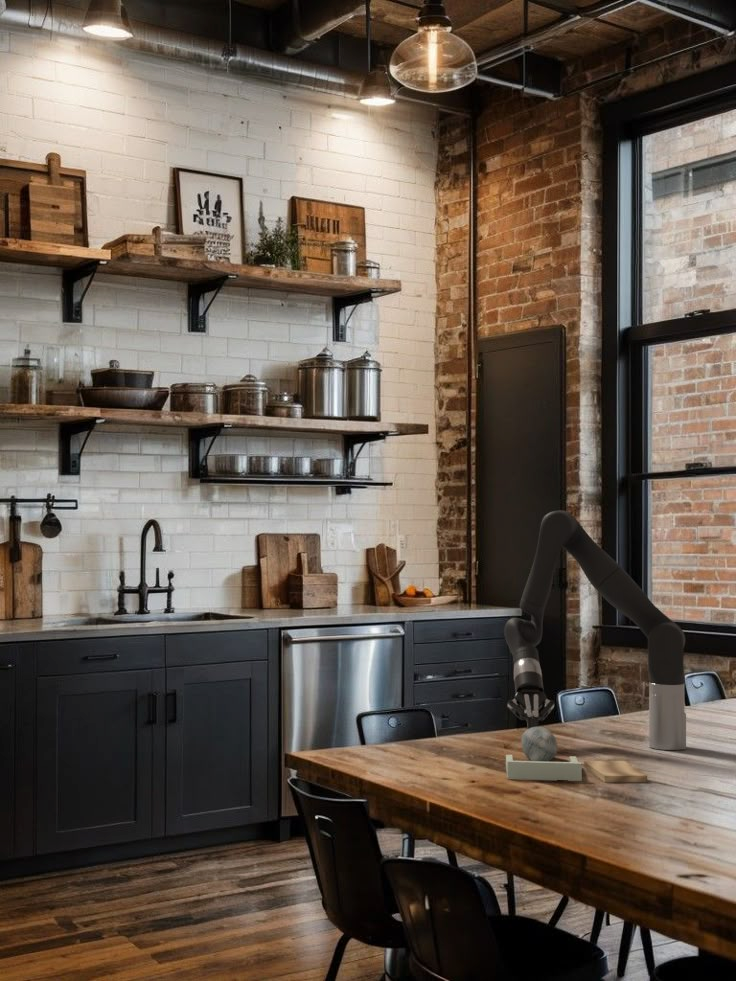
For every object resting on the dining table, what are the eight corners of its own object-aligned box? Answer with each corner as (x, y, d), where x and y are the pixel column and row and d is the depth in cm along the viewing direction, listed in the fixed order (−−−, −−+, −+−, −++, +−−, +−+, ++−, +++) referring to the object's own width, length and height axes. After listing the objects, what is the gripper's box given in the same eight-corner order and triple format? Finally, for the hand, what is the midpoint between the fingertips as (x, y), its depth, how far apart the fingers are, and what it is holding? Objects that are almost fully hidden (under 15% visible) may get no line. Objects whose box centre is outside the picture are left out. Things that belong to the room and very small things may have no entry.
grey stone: (516, 741, 312) (533, 709, 310) (549, 759, 311) (567, 727, 308) (509, 763, 300) (527, 730, 297) (543, 781, 298) (562, 749, 295)
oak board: (624, 767, 296) (624, 760, 296) (647, 782, 278) (647, 775, 278) (584, 767, 295) (584, 761, 295) (604, 782, 277) (604, 775, 277)
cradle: (575, 766, 295) (575, 750, 296) (581, 781, 278) (581, 763, 278) (505, 764, 297) (505, 748, 297) (507, 779, 280) (507, 761, 280)
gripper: (504, 669, 325) (509, 722, 312) (554, 670, 325) (560, 723, 312) (502, 687, 330) (507, 740, 317) (551, 687, 330) (557, 740, 317)
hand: (533, 731), depth 315 cm, fingers closed
